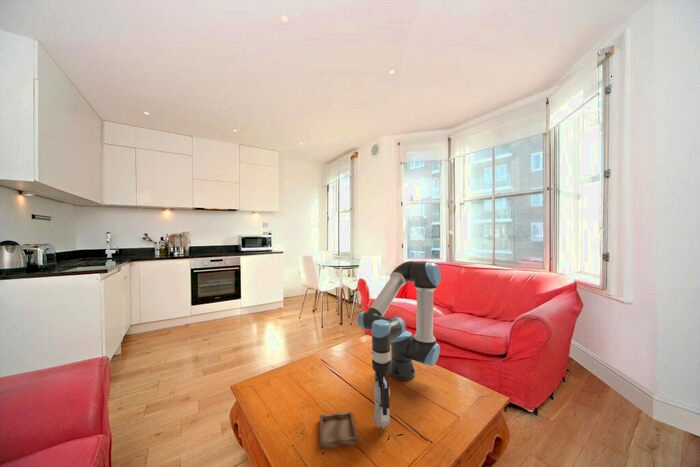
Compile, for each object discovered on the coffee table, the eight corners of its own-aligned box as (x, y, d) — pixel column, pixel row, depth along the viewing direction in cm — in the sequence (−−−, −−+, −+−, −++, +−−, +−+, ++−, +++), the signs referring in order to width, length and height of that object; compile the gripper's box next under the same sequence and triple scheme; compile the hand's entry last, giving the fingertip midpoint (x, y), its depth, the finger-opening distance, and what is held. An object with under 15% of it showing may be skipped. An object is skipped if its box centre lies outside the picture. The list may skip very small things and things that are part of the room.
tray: (352, 417, 108) (352, 411, 108) (357, 444, 94) (357, 438, 94) (320, 420, 106) (320, 415, 106) (320, 448, 92) (320, 442, 92)
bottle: (372, 418, 105) (372, 371, 105) (388, 417, 105) (387, 371, 105) (375, 431, 98) (374, 381, 98) (392, 429, 99) (391, 380, 98)
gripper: (367, 348, 110) (368, 399, 111) (378, 373, 91) (378, 434, 92) (383, 347, 111) (384, 397, 112) (397, 371, 92) (398, 432, 93)
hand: (382, 414), depth 102 cm, fingers closed on bottle, 6 cm apart
